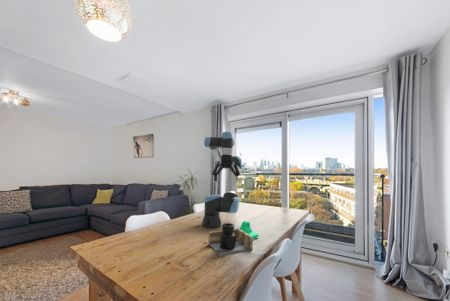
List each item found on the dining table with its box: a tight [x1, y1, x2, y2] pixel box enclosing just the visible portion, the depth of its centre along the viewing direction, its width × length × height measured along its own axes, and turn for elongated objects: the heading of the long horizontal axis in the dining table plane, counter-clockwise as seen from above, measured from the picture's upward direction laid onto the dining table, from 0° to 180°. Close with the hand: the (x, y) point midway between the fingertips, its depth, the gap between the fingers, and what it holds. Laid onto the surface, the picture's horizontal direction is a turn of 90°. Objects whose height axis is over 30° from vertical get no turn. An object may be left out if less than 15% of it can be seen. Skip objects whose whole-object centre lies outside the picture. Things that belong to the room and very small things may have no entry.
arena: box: [208, 227, 254, 257], centre depth 114 cm, size 16×20×7 cm
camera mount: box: [239, 220, 259, 241], centre depth 129 cm, size 12×8×10 cm, turn 127°
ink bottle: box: [220, 222, 236, 249], centre depth 113 cm, size 10×9×12 cm
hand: (225, 185), depth 135 cm, fingers open, 13 cm apart
